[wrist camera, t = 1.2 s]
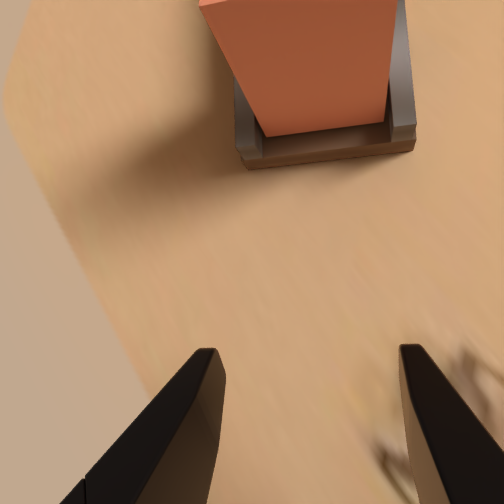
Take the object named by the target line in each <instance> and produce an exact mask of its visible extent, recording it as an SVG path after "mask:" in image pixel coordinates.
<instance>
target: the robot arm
mask: <svg viewBox="0 0 504 504" xmlns="http://www.w3.org/2000/svg"><path fill="white" fill-rule="evenodd" d="M399 381H400V390H401V398H402V407H403V415H404V424H405V432H406V441H407V448H408V454H409V459H410V464H411V468H412V472H413V476H414V481H415V485H416V489H417V493H418V497H419V501H420V504H504V452H503V450H502V449H501V448H500V446H499V445H498V444H497V442H496V441H495V440H494V439H493V437H492V436H491V435H490V433H489V432H488V431H487V429H486V428H485V427H484V426H483V424H482V423H481V422H480V420H479V419H478V418H477V416H476V415H475V414H474V413H473V411H472V410H471V409H470V407H469V406H468V405H467V404H466V402H465V401H464V400H463V398H462V397H461V396H460V394H459V393H458V392H457V391H456V389H455V388H454V387H453V385H452V384H451V383H450V381H449V380H448V379H447V378H446V376H445V375H444V374H443V372H442V371H441V370H440V368H439V367H438V366H437V365H436V363H435V362H434V361H433V359H432V358H431V357H430V355H429V354H428V353H427V352H426V350H425V349H424V348H423V347H422V346H421V345H420V344H401V345H400V346H399ZM225 385H226V373H225V369H224V367H223V364H222V361H221V358H220V355H219V352H218V350H217V349H216V348H199V349H198V350H196V351H195V352H194V354H193V355H192V356H191V357H190V358H189V359H188V360H187V361H186V363H185V364H184V365H183V366H182V367H181V368H180V369H179V370H178V372H177V373H176V374H175V375H174V376H173V377H172V378H171V379H170V381H169V382H168V383H167V384H166V385H165V386H164V387H163V388H162V390H161V391H160V392H159V393H158V394H157V395H156V396H155V397H154V399H153V400H152V401H151V402H150V403H149V404H148V405H147V406H146V408H145V409H144V410H143V411H142V412H141V413H140V414H139V415H138V417H137V418H136V419H135V420H134V421H133V422H132V423H131V425H130V426H129V427H128V428H127V429H126V430H125V431H124V432H123V433H122V435H121V436H120V437H119V438H118V439H117V440H116V441H115V442H114V444H113V445H112V446H111V447H110V448H109V449H108V450H107V452H106V453H105V454H104V455H103V456H102V457H101V458H100V460H98V462H97V463H96V464H95V465H94V466H93V467H92V469H91V470H90V471H89V472H88V473H87V474H86V475H85V479H81V480H80V482H79V483H78V484H77V485H76V486H75V487H74V488H73V489H72V491H71V492H70V493H69V494H68V495H67V496H66V497H65V499H63V501H62V502H61V503H60V504H206V503H207V499H208V494H209V489H210V485H211V480H212V476H213V471H214V467H215V462H216V458H217V453H218V447H219V440H220V431H221V422H222V413H223V404H224V395H225Z"/></svg>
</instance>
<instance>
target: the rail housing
mask: <svg viewBox="0 0 504 504" xmlns="http://www.w3.org/2000/svg"><path fill="white" fill-rule="evenodd" d="M234 107H235V147H236V149H237V150H238V152H239V153H240V154H241V161H242V162H243V164H244V165H245V166H246V168H247V169H248V170H251V169H260V168H268V167H277V166H285V165H294V164H302V163H311V162H320V161H328V160H337V159H345V158H354V157H362V156H371V155H380V154H388V153H397V152H405V151H413V149H414V146H415V142H416V129H415V128H416V125H417V121H416V111H415V101H414V91H413V81H412V71H411V61H410V51H409V41H408V31H407V21H406V11H405V0H398V2H397V11H396V20H395V28H394V37H393V45H392V54H391V63H390V71H389V80H388V88H387V97H386V106H385V114H384V122H378V123H371V124H363V125H356V126H348V127H341V128H333V129H326V130H318V131H311V132H303V133H296V134H288V135H281V136H273V137H266V136H265V134H264V132H263V130H262V128H261V126H260V124H259V122H258V120H257V118H256V116H255V114H254V112H253V110H252V109H251V107H250V105H249V103H248V101H247V99H246V97H245V95H244V93H243V91H242V89H241V87H240V85H239V83H238V81H237V79H236V77H235V75H234Z"/></svg>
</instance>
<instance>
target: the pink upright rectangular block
mask: <svg viewBox="0 0 504 504" xmlns="http://www.w3.org/2000/svg"><path fill="white" fill-rule="evenodd" d="M397 2H398V0H199V7H200V9H201V11H202V13H203V15H204V17H205V19H206V21H207V23H208V25H209V27H210V29H211V31H212V33H213V34H214V36H215V38H216V40H217V42H218V44H219V46H220V48H221V50H222V52H223V54H224V56H225V58H226V60H227V62H228V64H229V66H230V68H231V70H232V72H233V73H234V75H235V77H236V79H237V81H238V83H239V85H240V87H241V89H242V91H243V93H244V95H245V97H246V99H247V101H248V103H249V105H250V107H251V109H252V110H253V112H254V114H255V116H256V118H257V120H258V122H259V124H260V126H261V128H262V130H263V132H264V134H265V136H266V137H273V136H281V135H288V134H296V133H303V132H311V131H318V130H326V129H333V128H341V127H348V126H356V125H363V124H371V123H378V122H384V114H385V106H386V97H387V88H388V80H389V71H390V63H391V54H392V45H393V37H394V28H395V20H396V11H397Z"/></svg>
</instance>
